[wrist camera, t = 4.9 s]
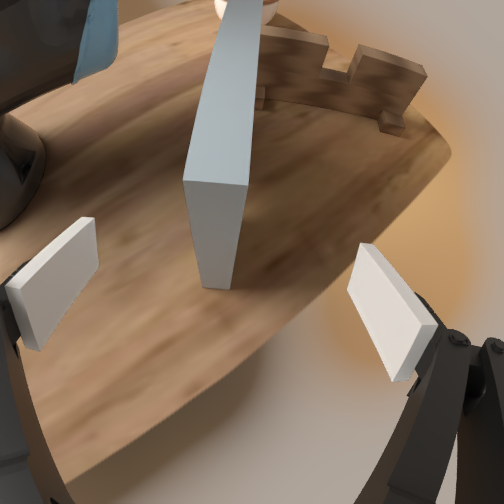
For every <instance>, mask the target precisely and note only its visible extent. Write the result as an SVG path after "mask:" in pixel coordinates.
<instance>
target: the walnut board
mask: <svg viewBox="0 0 504 504" xmlns="http://www.w3.org/2000/svg"><path fill="white" fill-rule="evenodd" d="M328 48H329V43H328V39H327V36H324V35H319V34H315V33H310V32H305V31H299V30H293V29H287V28H281V27H274V26H267V25H261V30H260V42H259V54H258V67H257V79H256V92H255V104H254V109H258V110H263V105H264V100H265V98H266V99H274V100H281V101H288V102H294V103H301V104H307V105H312V106H318V107H323V108H328V109H333V110H338V111H343V112H348V113H352V114H356V115H361V116H365V117H369V118H373V119H377V121H378V125H379V129H380V132H384V133H388V134H392V135H395V136H399V135H400V134H401V133H402V131H403V130H404V129H405V125H404V122H403V119H402V114H403V113H404V111H405V110H406V108H407V107H408V105H409V104H410V102H411V101H412V99H413V98H414V96H415V95H416V93H417V92H418V90H419V89H420V87H421V86H422V84H423V83H424V81H425V80H426V78H427V77H428V76H427V74H426V72H425V70H424V68H423V66H422V65H420V64H417V63H415V62H412V61H409V60H406V59H403V58H401V57H398V56H395V55H392V54H389V53H386V52H383V51H380V50H377V49H374V48H370V47H367V46H364V45H360V44H359V45H358V48H357V50H356V52H355V55H354V57H353V60H352V62H351V64H350V66H349V69H348V71H347V73H345V72H340V71H336V70H332V69H327V68H322V65H323V63H324V60H325V57H326V54H327V51H328Z"/></svg>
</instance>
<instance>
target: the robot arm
mask: <svg viewBox="0 0 504 504" xmlns="http://www.w3.org/2000/svg"><path fill="white" fill-rule="evenodd" d="M117 53H118V0H0V230H1V229H2V228H4V227H6V226H7V225H8V224H10V223H11V222H12V221H13V220H14V219H15V218H16V217H17V216H18V215H19V214H20V213H21V212H22V211H23V210H24V208H25V207H26V206H27V204H28V203H29V202H30V200H31V199H32V197H33V195H34V194H35V192H36V190H37V188H38V186H39V184H40V181H41V179H42V176H43V173H44V168H45V162H46V153H45V148H44V145H43V143H42V141H41V140H40V138H39V137H38V135H37V134H36V132H35V131H34V130H33V129H32V128H31V127H29V126H28V125H26V124H25V123H23V122H21V121H20V120H18V119H17V118H15V117H14V116H12V115H11V114H9V113H8V112H10V111H12V110H14V109H16V108H18V107H19V106H21V105H23V104H25V103H27V102H29V101H32V100H34V99H36V98H38V97H40V96H42V95H44V94H46V93H49V92H51V91H53V90H56V89H58V88H60V87H63V86H65V85H67V84H70V83H71V84H72V85H74V84H76V83H77V82H78V81H79V80H80V79H83V78H85V77H87V76H90V75H92V74H95V73H97V72H100V71H102V70H105V69H106V68H108V67H109V66H110V65H111V64H112V63H113V62H114V60H115V58H116V56H117ZM98 268H99V262H98V253H97V242H96V230H95V218H90V217H81V218H80V219H78V220H77V221H76V222H75V223H73V224H72V225H71V226H70V227H69V228H67V229H66V230H65V231H64V232H63V233H61V234H60V235H59V236H58V237H57V238H56V239H54V240H53V241H52V242H51V243H50V244H49V245H47V246H46V247H45V248H44V249H43V250H42V251H41V252H40V253H38V254H37V255H36V256H35V257H34V258H32V259H30V260H28V261H27V262H25V263H23V264H22V265H21V266H20V267H19V268H18V269H17V271H14V272H13V273H12V274H11V276H9V277H8V278H7V279H6V280H5V281H4V282H3V283H2V284H1V285H0V504H75V503H74V501H73V500H72V498H71V496H70V495H69V493H68V491H67V489H66V487H65V485H64V483H63V481H62V478H61V476H60V474H59V472H58V470H57V467H56V465H55V463H54V461H53V458H52V456H51V453H50V451H49V448H48V446H47V443H46V441H45V438H44V435H43V433H42V430H41V427H40V424H39V421H38V418H37V415H36V412H35V409H34V406H33V403H32V399H31V396H30V392H29V389H28V385H27V381H26V377H25V373H24V369H23V365H22V361H21V356H20V352H19V348H18V345H17V343H16V341H17V340H18V339H19V337H20V336H21V338H22V340H23V343H24V345H25V347H26V348H29V349H32V350H36V351H41V350H42V348H43V347H44V345H45V344H46V342H47V340H48V339H49V337H50V336H51V334H52V333H53V331H54V330H55V328H56V327H57V325H58V324H59V322H60V321H61V319H62V318H63V316H64V315H65V314H66V312H67V311H68V309H69V308H70V306H71V305H72V304H73V302H74V301H75V299H76V298H77V297H78V295H79V294H80V292H81V291H82V290H83V288H84V287H85V286H86V284H87V283H88V281H89V280H90V279H91V277H92V276H93V275H94V273H95V272H96V271H97V270H98ZM347 291H348V293H349V295H350V297H351V299H352V301H353V303H354V305H355V307H356V309H357V311H358V312H359V315H360V317H361V319H362V320H363V322H364V325H365V327H366V328H367V330H368V333H369V335H370V337H371V338H372V341H373V343H374V345H375V346H376V349H377V351H378V353H379V355H380V357H381V359H382V362H383V363H384V366H385V368H386V370H387V372H388V374H389V377H390V379H391V381H392V382H399V381H408V380H409V378H410V377H411V375H412V373H413V371H414V370H416V372H417V374H418V378H417V380H416V381H415V383H414V385H413V386H412V388H411V389H410V391H409V393H408V394H407V396H408V397H409V398H408V401H407V403H406V405H405V408H404V410H403V412H402V414H401V417H400V419H399V421H398V423H397V425H396V428H395V430H394V432H393V434H392V436H391V438H390V440H389V442H388V444H387V446H386V448H385V450H384V452H383V454H382V456H381V458H380V460H379V461H378V463H377V465H376V467H375V469H374V471H373V472H372V474H371V476H370V478H369V480H368V481H367V483H366V484H365V486H364V488H363V489H362V491H361V493H360V494H359V496H358V498H357V499H356V501H355V502H354V504H436V503H435V502H436V498H437V496H438V493H439V490H440V488H441V485H442V482H443V479H444V476H445V473H446V470H447V466H448V463H449V460H450V456H451V452H452V449H453V446H454V441H455V438H456V434H457V442H458V443H457V444H458V452H457V482H456V497H455V504H504V342H503V341H501V340H500V339H496V338H491V337H490V338H487V339H486V340H485V342H484V344H483V346H482V347H479V346H474V345H471V342H470V340H469V339H468V338H467V337H466V336H465V335H464V334H463V333H461V332H459V331H457V330H454V329H447V328H446V326H445V325H444V324H443V322H442V321H441V320H440V319H439V317H438V316H437V315H436V313H434V311H433V309H432V308H431V307H430V306H429V304H428V303H427V302H426V301H425V299H424V298H422V297H421V296H420V295H418V294H417V293H415V292H413V291H412V290H411V288H410V287H409V286H408V285H407V283H406V282H405V281H404V280H403V279H402V278H401V276H400V275H399V274H398V272H397V271H396V270H395V269H394V268H393V266H392V265H391V264H390V263H389V262H388V260H387V259H386V258H385V257H384V256H383V255H382V253H381V252H380V251H379V250H378V249H377V248H376V246H375V245H374V244H368V243H360V245H359V249H358V253H357V256H356V260H355V264H354V268H353V271H352V274H351V278H350V281H349V284H348V288H347Z"/></svg>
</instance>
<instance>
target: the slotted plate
mask: <svg viewBox="0 0 504 504" xmlns="http://www.w3.org/2000/svg"><path fill="white" fill-rule="evenodd" d="M262 7H263V0H228V2H227V5H226V8H225V11H224V15H223V18H222V21H221V24H220V28H219V31H218V34H217V38H216V41H215V45H214V48H213V52H212V55H211V59H210V63H209V66H208V70H207V74H206V78H205V82H204V85H203V89H202V93H201V98H200V102H199V106H198V110H197V114H196V119H195V123H194V127H193V132H192V136H191V141H190V146H189V150H188V155H187V160H186V165H185V170H184V175H183V186H184V192H185V198H186V204H187V210H188V215H189V221H190V226H191V232H192V237H193V243H194V248H195V253H196V258H197V263H198V268H199V273H200V278H201V283H202V287H205V288H216V289H227V290H230V285H231V280H232V274H233V268H234V262H235V257H236V251H237V245H238V240H239V234H240V229H241V223H242V218H243V212H244V207H245V201H246V196H247V190H248V184H249V170H250V156H251V143H252V130H253V117H254V104H255V92H256V79H257V67H258V54H259V42H260V30H261V18H262Z"/></svg>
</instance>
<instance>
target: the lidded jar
mask: <svg viewBox="0 0 504 504" xmlns="http://www.w3.org/2000/svg"><path fill="white" fill-rule="evenodd" d="M227 2H228V0H214V3H215V9H216V13H217V15H218V17H219V18H220V19H221V21H222V18H223V15H224V11H225V8H226V5H227ZM278 4H279V0H263V7H262V18H261V25H266V24H267V23H268V22H269V21H270V20H271V19H272V18H273V16H274V15H275V13H276V10H277V8H278Z"/></svg>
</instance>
